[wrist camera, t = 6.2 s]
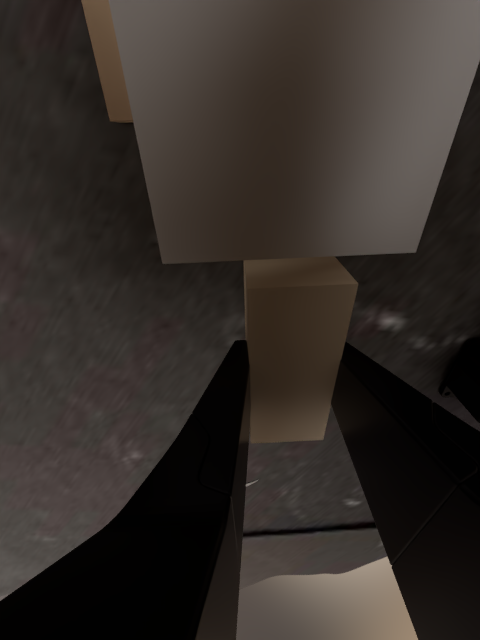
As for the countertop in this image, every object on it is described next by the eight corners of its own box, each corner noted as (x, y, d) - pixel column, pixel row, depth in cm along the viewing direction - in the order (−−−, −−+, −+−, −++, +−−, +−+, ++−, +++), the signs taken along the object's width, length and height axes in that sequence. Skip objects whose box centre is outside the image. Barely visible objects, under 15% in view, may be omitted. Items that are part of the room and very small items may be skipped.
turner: (474, -5, 5) (623, -91, 3) (359, 382, 12) (387, 436, 10) (122, 9, 5) (54, -69, 3) (194, 390, 12) (185, 446, 9)
